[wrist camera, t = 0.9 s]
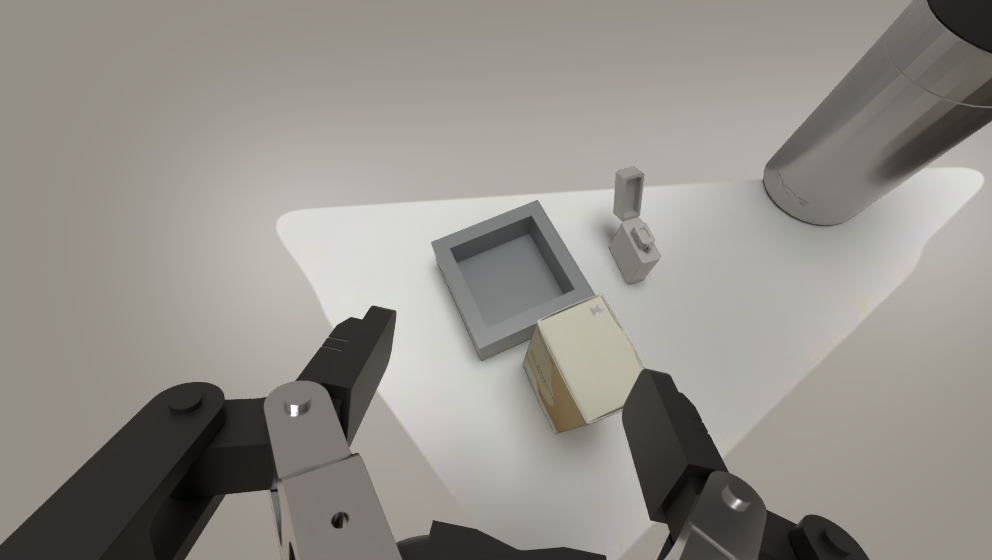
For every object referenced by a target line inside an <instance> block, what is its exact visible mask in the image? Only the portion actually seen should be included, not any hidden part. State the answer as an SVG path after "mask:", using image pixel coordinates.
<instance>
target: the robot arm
mask: <svg viewBox="0 0 992 560" xmlns="http://www.w3.org/2000/svg"><path fill="white" fill-rule="evenodd" d="M991 121H992V0H913V1H912V3H910V5H909V6H908V7H907V8H906V9H905V10H904V12H902V14H901V15H900V16H899V17H898V18H897V19H896V20H895V21H894V22H893V24H892V25H891V26H890V27H889V28H888V30H886V32H885V33H884V34H883V35H882V36H881V37H880V38H879V40H878V41H877V42H876V43H875V44H874V45H873V46H872V47H871V48H870V49H869V50H868V52H867V53H866V54H865V55H864V56H863V57H862V58H861V60H859V62H858V63H857V64H856V65H855V66H854V67H853V68H852V69H851V70H850V72H849V73H848V74H847V75H846V76H845V77H844V78H843V79H842V80H841V82H840V83H839V84H838V85H837V86H836V87H835V88H834V89H833V90H832V92H831V93H830V94H829V95H828V96H827V97H826V98H825V99H824V100H823V102H822V103H821V104H820V105H819V106H818V107H817V108H816V109H815V111H814V112H813V113H812V114H811V115H810V116H809V117H808V118H807V119H806V120H805V122H804V123H803V124H802V125H801V126H800V127H799V128H798V130H796V131H795V132H794V134H793V135H792V136H791V137H790V138H789V139H788V140H787V142H785V144H784V145H783V146H782V147H781V148H780V149H779V150H778V151H777V153H776V154H775V155H774V156H773V157H772V158H771V159H770V161H769V162H768V163H767V164H766V167H765V170H764V183H765V187H766V189H767V191H768V193H769V195H770V196H771V198H772V199H773V200H774V202H775V203H776V204H777V205H778V206H779V207H780V208H782V209H783V210H784V211H786V212H787V213H789V214H790V215H792V216H794V217H796V218H798V219H800V220H802V221H805V222H809V223H812V224H818V225H834V224H839V223H843V222H845V221H847V220H849V219H850V218H852V217H853V216H855V215H856V214H858V213H859V212H861V211H862V210H863V209H865V208H866V207H868V206H869V205H871V204H872V203H874V202H875V201H877V200H878V199H879V198H881V197H882V196H884V195H886V194H887V193H888V192H890V191H891V190H893V189H894V188H896V187H897V186H899V185H900V184H901V183H903V182H904V181H906V180H907V179H909V178H910V177H912V176H913V175H914V174H916V173H917V172H919V171H920V170H922V169H923V168H925V167H926V166H928V165H929V164H930V163H932V162H933V161H935V160H936V159H938V158H939V157H941V156H942V155H943V154H945V153H946V152H948V151H949V150H951V149H952V148H954V147H955V146H956V145H958V144H959V143H961V142H962V141H964V140H965V139H966V138H968V137H969V136H971V135H972V134H974V133H975V132H977V131H978V130H980V129H981V128H982V127H984V126H985V125H987V124H988V123H990V122H991ZM395 322H396V311H395V310H391V309H386V308H382V307H378V306H371V307H370V309H369V310H368V312H367V313H366V315H365V316H364V318H363V319H357V318H353V317H350V318H349V319H347V320H345V321H343V322H342V323H340V324H338V325H337V326H336V327H335V329H334V330H333V331H332V333H331V334H330V335H329V338H327V339H326V341H325V342H324V344H323V345H322V347H321V348H320V349H319V350H318V351H317V353H316V354H315V356H314V357H313V358H312V359H311V361H310V362H309V363H308V365H307V366H306V367H305V369H304V370H303V372H302V373H301V374H300V375H299V377H298V378H297V380H296V381H294V382H289V383H286V384H284V385H281V386H279V387H277V388H276V389H274V390H273V391H272V392H271V393H270V394H269V395H268V397H264V398H257V399H234V400H225V398H224V393H223V391H222V390H221V389H220V388H219V387H217V386H216V385H213V384H210V383H205V382H192V383H184V384H180V385H177V386H174V387H171V388H169V389H167V390H165V391H163V392H161V393H160V394H158V395H157V396H155V398H153V399H152V400H151V401H150V402H149V403H148V404H147V405H146V406H145V407H143V408H142V409H141V410H140V412H138V413H137V414H136V415H135V416H134V417H133V418H132V419H131V420H130V421H129V422H128V423H127V424H126V425H125V426H124V427H123V428H122V429H121V430H120V431H119V432H118V433H116V434H115V435H114V436H113V437H112V438H111V439H110V440H109V441H108V442H107V443H106V444H105V445H104V446H103V447H102V448H101V449H100V450H99V451H98V452H97V453H96V454H95V455H94V456H93V457H91V458H90V459H89V460H88V461H87V462H86V463H85V464H84V465H83V466H82V467H81V468H80V469H79V470H78V471H77V472H76V473H75V474H74V475H73V476H72V477H71V478H70V479H69V480H68V481H67V482H66V483H64V484H63V485H62V486H61V487H60V488H59V489H58V490H57V491H56V492H55V493H54V494H53V495H52V496H51V497H50V498H49V499H48V500H47V501H46V502H45V503H44V504H43V505H42V506H41V507H39V508H38V509H37V510H36V511H35V512H34V513H33V514H32V515H31V516H30V517H29V518H28V519H27V520H26V521H25V522H24V523H23V524H22V525H21V526H20V527H19V528H18V529H17V530H16V531H15V532H13V533H12V534H11V535H10V536H9V537H8V538H7V539H6V540H5V541H4V542H3V543H2V544H1V545H0V560H184V559H185V558H186V556H187V555H188V553H189V552H190V550H191V549H192V547H193V545H194V544H195V542H196V541H197V539H198V538H199V536H200V534H201V533H202V531H203V530H204V528H205V526H206V525H207V523H208V522H209V520H210V518H211V517H212V516H213V514H214V512H215V511H216V509H217V508H218V506H219V504H220V503H221V501H222V500H223V498H224V497H225V495H226V494H233V493H242V492H251V491H261V490H268V491H269V497H270V502H271V508H272V513H273V519H274V524H275V529H276V535H277V541H278V545H279V551H280V557H281V560H607V559H606V556H605V555H600V554H595V553H591V552H586V551H581V550H576V549H571V548H566V547H560V548H548V549H537V550H525V551H524V550H518V549H515V548H513V547H511V546H509V545H507V544H505V543H503V542H501V541H499V540H497V539H495V538H493V537H491V536H489V535H487V534H485V533H483V532H481V531H479V530H477V529H473V528H468V527H463V526H458V525H453V524H448V523H444V522H439V521H434V520H433V523H432V527H431V530H430V534H429V535H423V536H417V537H412V538H408V539H405V540H403V541H399V542H397V543H396V542H395V540H394V537H393V535H392V533H391V530H390V527H389V525H388V522H387V520H386V517H385V515H384V512H383V510H382V507H381V505H380V502H379V499H378V497H377V495H376V492H375V489H374V487H373V484H372V482H371V479H370V477H369V474H368V472H367V469H366V467H365V464H364V462H363V459H362V458H361V456H360V455H359V454H358V453H355V454H352V453H351V451H350V449H349V447H350V445H351V443H352V441H353V439H354V437H355V434H356V432H357V430H358V428H359V426H360V424H361V421H362V419H363V417H364V415H365V413H366V411H367V409H368V407H369V404H370V402H371V400H372V398H373V396H374V394H375V392H376V390H377V387H378V385H379V383H380V381H381V379H382V377H383V375H384V372H385V370H386V368H387V365H388V362H389V359H390V355H391V350H392V343H393V336H394V329H395ZM622 422H623V426H624V429H625V433H626V436H627V440H628V443H629V447H630V450H631V454H632V458H633V461H634V465H635V468H636V472H637V475H638V479H639V482H640V486H641V489H642V493H643V496H644V500H645V503H646V507H647V510H648V514H649V517H650V520H651V521H656V522H661V523H666V524H667V525H668V528H669V532H668V533H667V535H666V536H665V538H664V540H663V542H662V544H661V546H660V548H659V550H658V553H657V554H656V556H655V559H654V560H869V558H868V557H867V555H866V554H865V552H864V551H863V550H862V548H861V547H860V545H859V544H858V543H857V542H856V541H855V540H854V539H853V538H852V537H851V536H850V535H849V534H848V533H847V532H846V531H845V530H843V529H842V528H841V527H839V526H838V525H836V524H835V523H833V522H832V521H830V520H828V519H826V518H823V517H821V516H818V515H807V516H805V517H804V518H803V519H802V520H801V521H800V522H799V523H798V524H795V523H793V522H791V521H788V520H787V519H785V518H783V517H780V516H778V515H776V514H774V513H772V512H770V511H768V510H766V507H765V505H764V503H763V501H762V499H761V498H760V496H759V495H758V494H757V493H756V491H755V490H754V489H753V488H752V487H751V486H750V485H748V484H747V483H746V482H745V481H743V480H742V479H740V478H738V477H737V476H735V475H733V474H730V473H729V472H728V470H727V468H726V466H725V464H724V462H723V460H722V458H721V456H720V454H719V452H718V450H717V448H716V446H715V444H714V442H713V441H712V439H711V437H710V435H709V434H708V431H707V429H706V427H705V425H704V423H702V419H701V417H700V415H699V413H698V411H697V410H696V408H695V406H694V405H693V404H692V403H691V402H690V401H689V400H688V398H687V397H686V396H685V395H684V394H683V393H680V392H678V390H677V388H676V386H675V384H674V382H673V380H672V378H671V376H670V375H669V374H667V373H663V372H658V371H654V370H649V369H643V370H642V371H641V372H640V374H639V376H638V378H637V380H636V382H635V384H634V385H633V387H632V389H631V391H630V393H629V395H628V397H627V399H626V401H625V403H624V406H623V411H622Z"/></svg>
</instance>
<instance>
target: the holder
mask: <svg viewBox="0 0 992 560" xmlns="http://www.w3.org/2000/svg"><path fill="white" fill-rule="evenodd" d="M431 244H432V247H433V250H434V253H435V256H436V260H437V263H438V265H439V267H440V270H441V272H442V274H443V276H444V279H445V281H446V283H447V285H448V288H449V290H450V292H451V294H452V296H453V299H454V301H455V303H456V305H457V308H458V310H459V312H460V314H461V316H462V319H463V321H464V323H465V325H466V328H467V330H468V332H469V334H470V337H471V339H472V341H473V343H474V345H475V348H476V350H477V352H478V354H479V357H480V359H481V361H483V360H485V359H487V358H489V357H491V356H494V355H496V354H498V353H500V352H502V351H504V350H507V349H509V348H511V347H513V346H515V345H518V344H520V343H522V342H524V341H526V340H529V339H531V338H532V336H533V333H534V330H535V327H536V324H537V321H538V320H539V319H541V318H543V317H545V316H547V315H549V314H551V313H554V312H556V311H558V310H561V309H563V308H565V307H568V306H570V305H572V304H575V303H577V302H580V301H582V300H585V299H587V298H590V297H593V296H595V294H594V292H593V290H592V289H591V287H590V285H589V284H588V282H587V281H586V279H585V277H584V276H583V274H582V272H581V271H580V269H579V267H578V266H577V264H576V262H575V261H574V259H573V257H572V256H571V254H570V252H569V251H568V249H567V247H566V246H565V244H564V243H563V241H562V239H561V238H560V236H559V234H558V233H557V231H556V229H555V228H554V226H553V224H552V223H551V221H550V219H549V218H548V216H547V214H546V213H545V211H544V209H543V208H542V206H541V205H540V203H539V201H538V200H536V201H534V202H531V203H529V204H526V205H524V206H521V207H519V208H516V209H514V210H511V211H508V212H506V213H503V214H501V215H498V216H496V217H493V218H491V219H488V220H486V221H483V222H481V223H478V224H476V225H473V226H471V227H468V228H466V229H463V230H461V231H458V232H455V233H453V234H450V235H448V236H445V237H443V238H440V239H438V240H435V241H433V242H431Z"/></svg>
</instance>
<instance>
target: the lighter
mask: <svg viewBox="0 0 992 560" xmlns="http://www.w3.org/2000/svg"><path fill="white" fill-rule="evenodd" d="M643 181H644V173H642V172H641V171H640V170H638V169H637V168H636V167H634V166H632V167H629V168H624V169H621V170H618V171H617V172H616V178H615V195H614V212H613V213H614V214H615V215H616V216H617V217H618V218H619V219H620V220H621V221H622V224H621V226H620V228H619V230H618V232H617V233H616V235H615V237H614V239H613V241H612V243H611V245H610V247H609V249H610V251H611V253H612V255H613V257H614V259H615V261H616V263H617V265H618V267H619V269H620V271H621V273H622V276H623V278H624V280H625V282H626V283H627V284H632V283H635V282H639V281H642V280H643V279H644V278H645V277H646V276H647V274H648V273H649V272H650V271H651V269H652V268H653V267H654V266H655V264H656V263H657V262H658V261H659V259H660V258H661V255H660V253H659V252H658V250H657V248H656V246H655V244H654V241H655V239H654V237H653V235H652V233H651V231H650V229H649V228H648V226H647V224H646V223H643V222H642V220H641V219H640V218H638V217H639V216H640V209H641V200H642V191H643Z"/></svg>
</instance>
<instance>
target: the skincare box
mask: <svg viewBox="0 0 992 560" xmlns="http://www.w3.org/2000/svg"><path fill="white" fill-rule="evenodd" d="M523 365H524V368H525V370H526V373H527V375H528V378H529V380H530V383H531V385H532V387H533V389H534V392H535V394H536V396H537V398H538V401H539V403H540V405H541V407H542V409H543V411H544V413H545V415H546V417H547V419H548V421H549V423H550V425H551V427H552V429H553V431H554V433H559V432H563V431H566V430H570V429H573V428H577V427H580V426H584V425H588V424H591V423H593V422H596V421H598V420H601V419H603V418H606V417H608V416H611V415H613V414H615V413H618V412H620V411H622V410H623V406H624V403H625V401H626V399H627V397H628V395H629V393H630V391H631V389H632V387H633V385H634V384H635V382H636V380H637V378H638V376H639V374H640V372H641V371H642V370H643V369H645V367H644V366H643V364H642V362H641V360H640V359H639V357H638V355H637V353H636V351H635V349H634V348H633V346H632V344H631V342H630V340H629V338H628V337H627V335H626V334H625V332H624V331H623V329H622V327H621V326H620V324H619V322H618V320H617V318H616V317H615V315H614V313H613V312H612V310H611V308H610V306H609V305H608V303H607V301H606V300H605V298H604V296H603V294H598V295H595V296H593V297H590V298H587V299H585V300H582V301H580V302H577V303H575V304H572V305H570V306H568V307H565V308H563V309H561V310H558V311H556V312H554V313H551V314H549V315H547V316H545V317H543V318H541V319H539V320H538V321H537V324H536V327H535V330H534V333H533V336H532V338H531V341H530V344H529V347H528V350H527V353H526V356H525V359H524V362H523Z"/></svg>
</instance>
